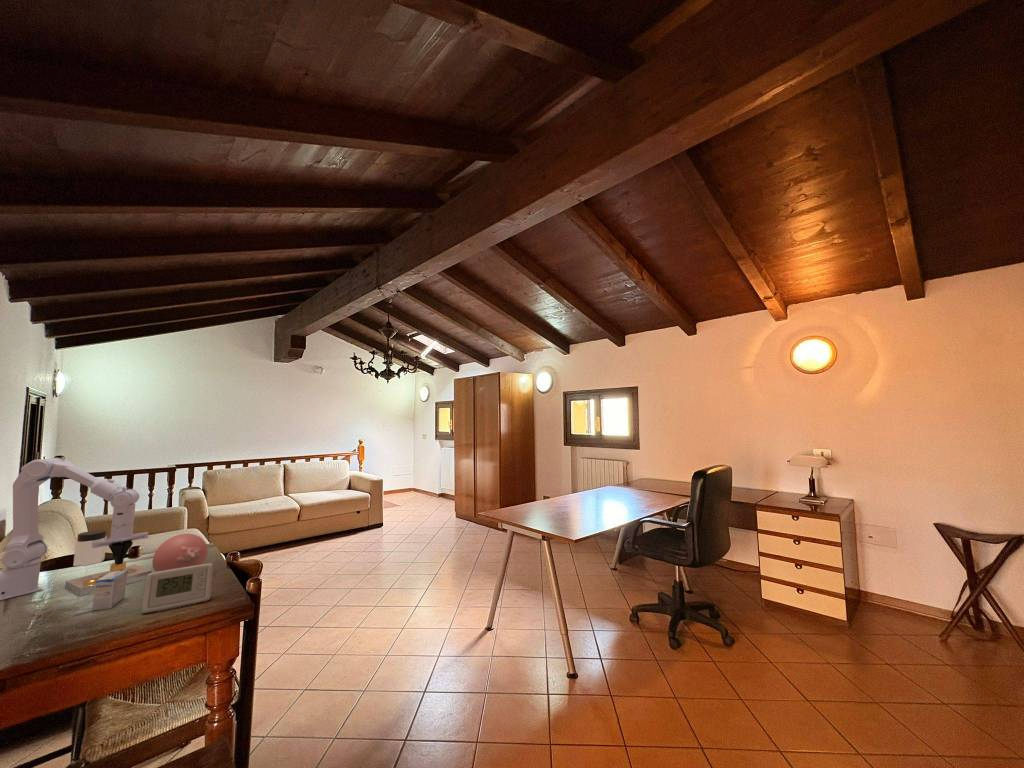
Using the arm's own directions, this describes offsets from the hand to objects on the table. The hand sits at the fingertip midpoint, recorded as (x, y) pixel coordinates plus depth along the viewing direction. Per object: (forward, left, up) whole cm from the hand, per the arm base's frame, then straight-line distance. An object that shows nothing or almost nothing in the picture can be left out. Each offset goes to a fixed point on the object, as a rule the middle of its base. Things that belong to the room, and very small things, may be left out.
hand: (118, 563), depth 140 cm
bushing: (0, 0, -6) cm, 6 cm away
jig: (-2, 0, -6) cm, 6 cm away
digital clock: (0, -44, -6) cm, 44 cm away
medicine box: (-9, -24, -6) cm, 26 cm away
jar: (+3, +37, -6) cm, 38 cm away
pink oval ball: (+11, -20, -6) cm, 23 cm away
